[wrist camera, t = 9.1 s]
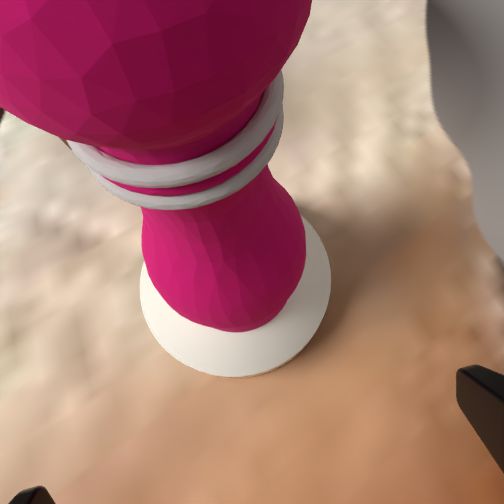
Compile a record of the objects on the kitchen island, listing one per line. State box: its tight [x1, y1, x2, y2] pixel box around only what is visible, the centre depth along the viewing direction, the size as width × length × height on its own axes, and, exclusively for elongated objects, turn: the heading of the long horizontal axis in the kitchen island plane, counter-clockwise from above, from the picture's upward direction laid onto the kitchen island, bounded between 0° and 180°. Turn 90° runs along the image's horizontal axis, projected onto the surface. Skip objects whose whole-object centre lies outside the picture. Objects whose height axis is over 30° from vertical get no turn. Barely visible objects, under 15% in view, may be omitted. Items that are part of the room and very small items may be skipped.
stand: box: [140, 214, 331, 378], centre depth 21 cm, size 11×11×2 cm
